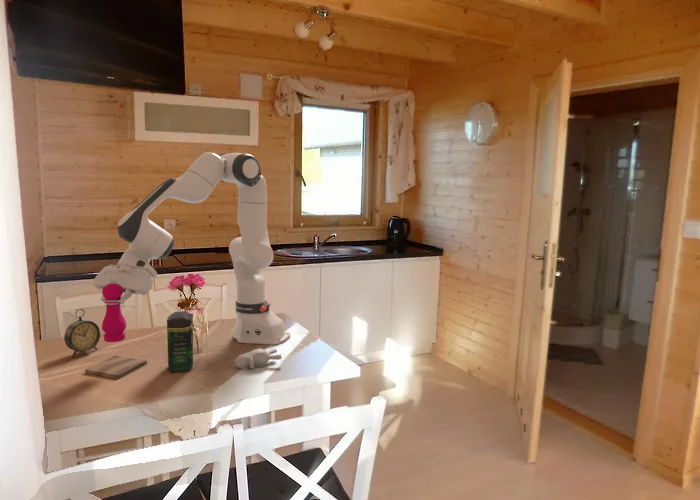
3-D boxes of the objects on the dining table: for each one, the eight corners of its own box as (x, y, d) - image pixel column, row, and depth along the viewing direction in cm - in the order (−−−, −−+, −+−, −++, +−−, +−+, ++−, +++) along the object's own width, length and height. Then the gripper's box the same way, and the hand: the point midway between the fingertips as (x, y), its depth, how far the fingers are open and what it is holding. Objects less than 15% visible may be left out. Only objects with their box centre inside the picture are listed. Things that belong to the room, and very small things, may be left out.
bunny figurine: (231, 352, 173) (274, 342, 178) (233, 366, 174) (276, 355, 179) (237, 362, 164) (282, 351, 170) (239, 376, 165) (283, 365, 171)
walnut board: (146, 363, 171) (146, 360, 171) (118, 378, 159) (118, 375, 159) (115, 358, 175) (115, 355, 175) (85, 373, 163) (85, 369, 162)
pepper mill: (120, 343, 161) (117, 281, 158) (98, 342, 162) (94, 281, 158) (130, 336, 169) (128, 277, 165) (109, 335, 169) (106, 276, 166)
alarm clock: (71, 359, 174) (68, 313, 171) (63, 356, 176) (59, 310, 174) (102, 350, 183) (99, 306, 180) (93, 347, 186) (90, 304, 183)
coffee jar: (192, 372, 165) (190, 317, 162) (166, 374, 163) (164, 318, 160) (194, 361, 174) (193, 308, 171) (170, 362, 172) (168, 309, 169)
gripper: (101, 258, 171) (79, 293, 163) (152, 263, 165) (132, 300, 157) (111, 269, 176) (91, 303, 168) (161, 274, 170) (142, 310, 162)
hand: (111, 302), depth 163 cm, fingers closed on pepper mill, 5 cm apart
